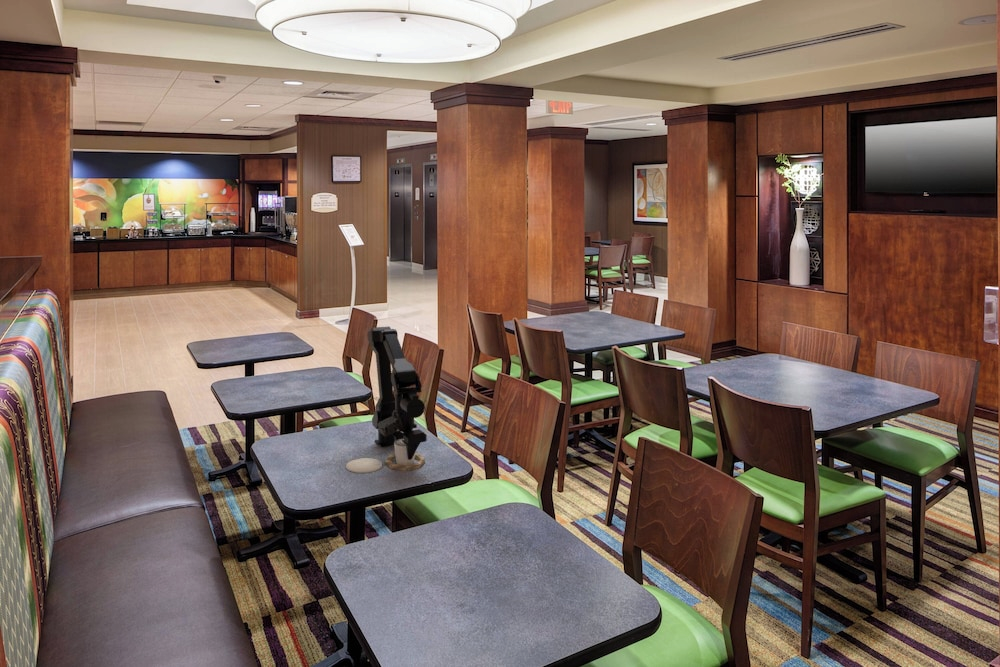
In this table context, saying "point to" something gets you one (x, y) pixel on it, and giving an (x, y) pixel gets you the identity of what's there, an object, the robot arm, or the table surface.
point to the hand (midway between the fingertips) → (405, 456)
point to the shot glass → (402, 453)
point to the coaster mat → (364, 465)
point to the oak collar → (405, 467)
